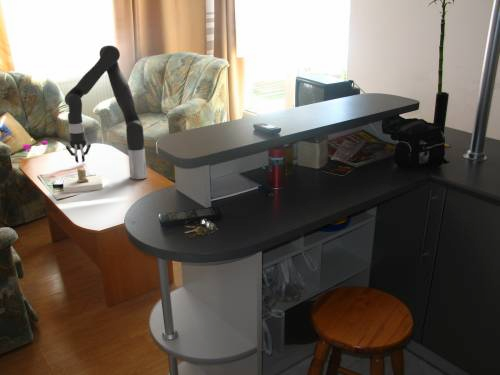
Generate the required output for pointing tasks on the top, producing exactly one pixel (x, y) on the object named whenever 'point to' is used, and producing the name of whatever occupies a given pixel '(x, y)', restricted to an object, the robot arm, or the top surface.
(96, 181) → the socket board
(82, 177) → the oak peg
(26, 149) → the toy block
